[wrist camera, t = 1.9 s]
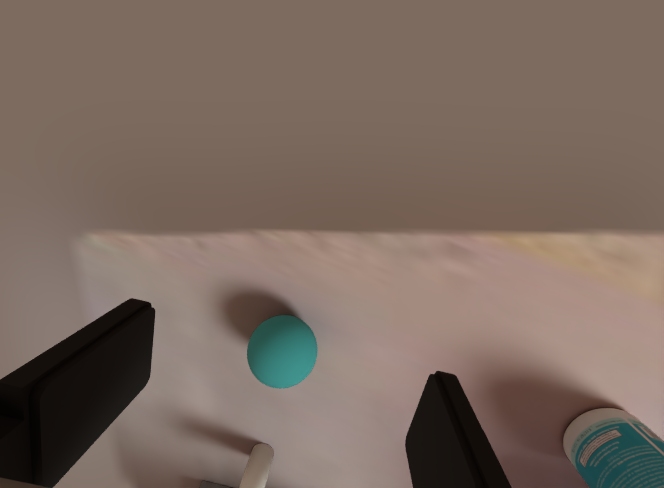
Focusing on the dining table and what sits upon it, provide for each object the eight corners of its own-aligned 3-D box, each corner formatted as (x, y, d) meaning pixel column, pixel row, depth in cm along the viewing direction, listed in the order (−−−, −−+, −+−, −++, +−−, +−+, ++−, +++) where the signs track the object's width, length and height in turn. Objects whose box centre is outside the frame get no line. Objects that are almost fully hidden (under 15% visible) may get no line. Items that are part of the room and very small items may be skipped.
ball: (313, 365, 30) (304, 412, 25) (254, 351, 30) (231, 395, 25) (326, 312, 29) (320, 348, 23) (264, 297, 29) (242, 329, 23)
